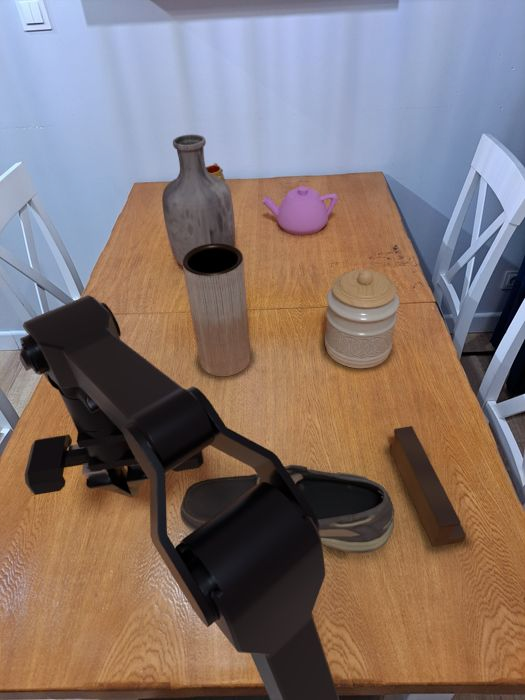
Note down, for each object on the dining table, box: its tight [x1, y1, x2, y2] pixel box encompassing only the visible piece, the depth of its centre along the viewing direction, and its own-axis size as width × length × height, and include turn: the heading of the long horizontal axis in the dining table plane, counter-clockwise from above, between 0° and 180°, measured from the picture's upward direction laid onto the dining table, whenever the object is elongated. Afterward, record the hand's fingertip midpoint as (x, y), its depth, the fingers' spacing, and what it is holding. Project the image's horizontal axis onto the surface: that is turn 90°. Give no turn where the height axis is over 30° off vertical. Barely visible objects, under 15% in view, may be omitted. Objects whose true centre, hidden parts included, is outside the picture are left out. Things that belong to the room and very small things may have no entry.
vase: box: [161, 134, 236, 267], centre depth 112 cm, size 16×16×30 cm
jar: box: [324, 268, 401, 369], centre depth 90 cm, size 13×13×18 cm
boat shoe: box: [179, 464, 395, 554], centre depth 66 cm, size 11×29×11 cm, turn 88°
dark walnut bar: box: [390, 425, 467, 548], centre depth 70 cm, size 16×5×6 cm, turn 9°
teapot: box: [262, 185, 339, 236], centre depth 131 cm, size 14×20×11 cm
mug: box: [206, 162, 226, 182], centre depth 154 cm, size 12×7×7 cm, turn 173°
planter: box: [182, 243, 252, 377], centre depth 88 cm, size 10×10×23 cm
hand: (134, 493), depth 60 cm, fingers closed
